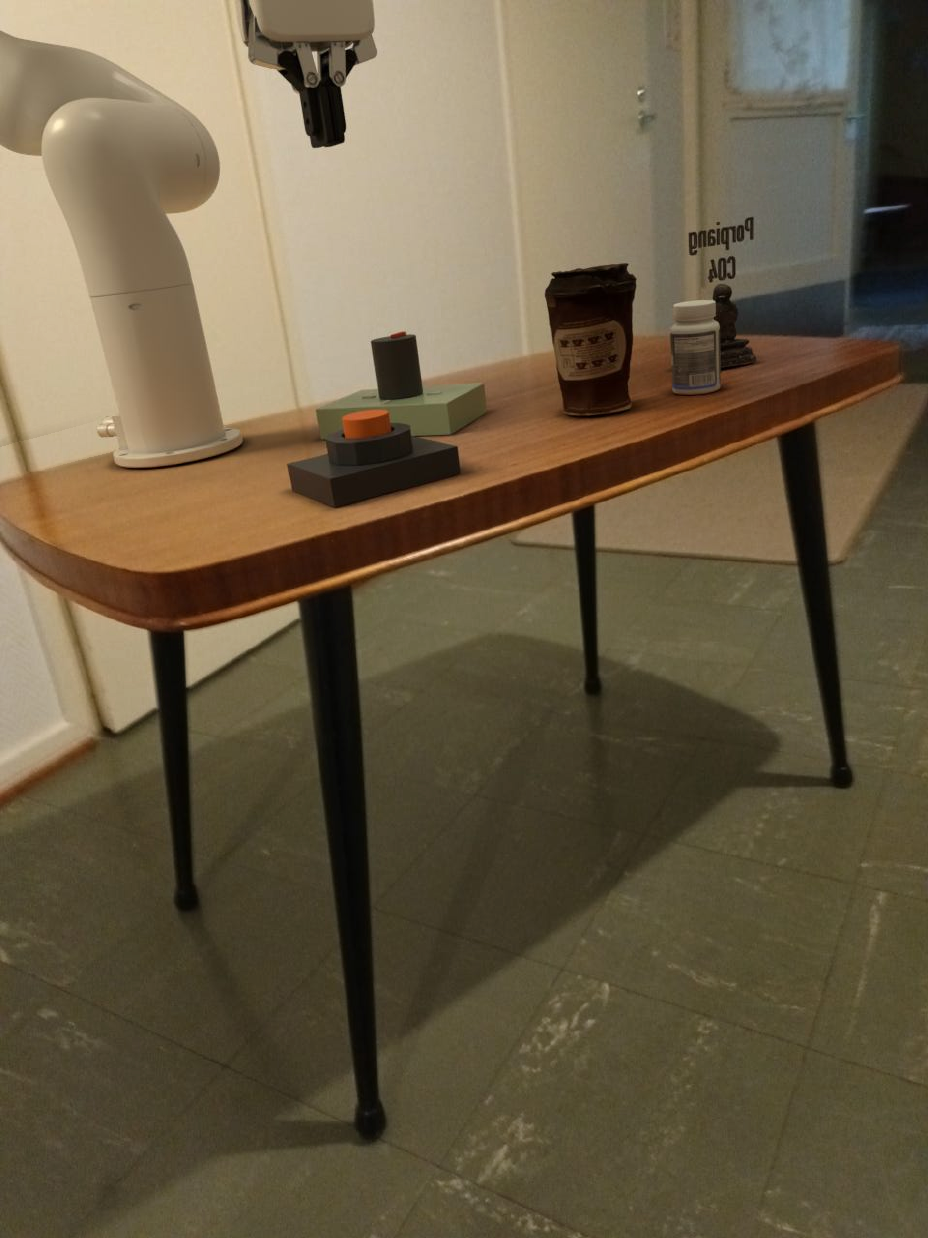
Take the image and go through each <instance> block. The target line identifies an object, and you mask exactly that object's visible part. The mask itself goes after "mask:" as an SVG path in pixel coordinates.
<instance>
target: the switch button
mask: <svg viewBox="0 0 928 1238" xmlns="http://www.w3.org/2000/svg"><path fill="white" fill-rule="evenodd" d="M342 421H343V427H344V433H345V438H347V439H354V438H367V437H374V436H379V435H383V434H387V433H390V432H391V425H390V418H389V412H388V411H387V410H366V411H360V412H355V413H351V414H348V415H345V416H343V417H342Z"/></svg>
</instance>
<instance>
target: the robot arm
mask: <svg viewBox="0 0 928 1238" xmlns="http://www.w3.org/2000/svg"><path fill="white" fill-rule="evenodd" d="M234 5H235V15H236V20H237V25H238V30H239V35H240V38H241V41H242V43H243V44H244V46H245V47H247V57H248V60H249V62H250V63H251V64H253V65H254V66H258V67H263V68H267V69H270V70H275V71H277V72H278V73H279V74H280V76H282V77H283V78H284V79H285V80H286V81H287V82H288V83H289V84H290V86H291V88H292V90H293V92H294V93H295V94H297V95H299V101H300V106H301V114H302V120H303V126H304V131H305V134H306V135H307V137H309V141H310V145H311V148H312V149H320V148H323V147H324V148H332V147H335V146H338V145H342V144H344V143H345V141H346V136H345V133H346V132H347V121H346V113H345V107H344V99H343V93H342V87H343V86H344V85H346V82H347V78H348V76H349V75H350V73H351V72H352V70H353V68H354V67H356V66H359V65H361V64H363V63H366V62H368V61H371V60H373V59H375V58H376V57H377V56H378V49H377V46H376V43H375V40H374V37H373V34H374V31H375V27H376V26H375V24H376V22H375V21H376V20H375V9H374V1H373V0H234ZM351 45H352V46H351ZM349 47H350V48H349ZM314 52H315V53H316V61H317V63H315V58H314V56H313V55H314V54H313V53H314ZM316 64H317V66H316ZM0 146H1V147H3V148H5V149H7V150H9V151H11V152H13V153H16V154H20V155H25V156H33V157H41V158H42V166H43V168H44V169H43V170H44V172H45V175H46V178H47V182H48V184H49V186H50V189H51V192H52V193H53V195H54V198H55V200H56V202H57V205H58V206H59V208H60V211H61V213H62V215H63V217H64V218H63V219H64V220H65V222H66V225H67V227H68V230H69V232H70V236H71V239H72V241H73V244H74V247H75V250H76V253H77V257H78V259H79V260H78V261H79V263H80V267H81V270H82V273H83V277H84V281H85V285H86V290H87V293H88V297H89V300H90V304H91V308H92V312H93V315H94V319H95V324H96V327H97V331H98V336H99V339H100V343H101V347H102V351H103V354H104V359H105V362H106V366H107V370H108V374H109V375H108V376H109V378H110V383H111V386H112V390H113V395H114V398H115V401H116V405H117V409H118V413H116V414H113V415H107V416H105V417H104V418H103V421H102V423H99V424H98V425H97V428H96V433H97V435H98V437H100V438H113V437H116V438H117V443H118V448H116V449H115V450H114V451H113V452H112V456H113V461H114V463H115V465H117V466H119V467H122V468H126V469H127V468H131V469H145V468H158V467H165V466H166V467H167V466H173V465H181V464H186V463H190V462H195V461H199V460H204V459H208V458H212V457H216V456H218V455H221V454H225V453H228V452H230V451H232V450H234V449H236V448H238V447H239V446H240V445H242V443H243V442H244V440H243V436H242V432H241V430H239V429H237V428H233V427H225V424H224V421H223V416H222V411H221V407H220V402H219V397H218V393H217V387H216V384H215V379H214V374H213V369H212V365H211V360H210V355H209V351H208V346H207V342H206V336H205V332H204V328H203V323H202V319H201V318H202V317H201V313H200V309H199V305H198V300H197V295H196V289H195V286H194V283H193V277H192V272H191V268H190V263H189V260H188V258H187V255H186V251H185V248H184V247H183V244H182V242H181V239H180V238H179V235H178V233H177V231H176V230H175V227H174V226H173V224H172V223H171V221H170V219H169V217H168V215H167V214H180V213H186V212H189V211H190V212H191V211H193V210H195V209H197V208H199V207H201V206H202V205H205V203H206V202H207V201H209V199H210V198H211V197H212V195H213V194H214V193H215V191H216V189H217V187H218V184H219V180H220V174H221V162H220V156H219V152H218V149H217V145H216V143H215V141H214V139H213V137H212V134H211V133H210V132H209V130H208V129H207V127H206V125H204V123H203V122H202V121H201V120H200V119H199V118H198V117H197V116H196V115H194V113H192V112H191V111H190V110H189V109H187V108H186V107H184V106H183V105H181V104H180V103H179V102H177V101H176V100H174V99H172V98H170V97H169V96H167V95H166V94H164V93H162V92H161V91H159V90H158V89H156V88H154V87H153V86H152V85H150V84H149V83H147V82H145V81H144V80H142V79H140V78H139V77H137V76H136V75H134V74H132V73H131V72H130V71H128V70H127V69H124V68H123V67H121V66H120V65H118V64H116V63H115V62H113V61H111V60H110V59H107V58H106V57H103V56H101V55H99V54H96V53H95V52H91V51H89V50H85V49H81V48H77V47H72V46H66V45H60V44H54V43H47V42H41V41H36V40H30V39H24V38H19V37H17V36H14V35H11V34H9V33H8V32H4V31H3V30H1V29H0Z"/></svg>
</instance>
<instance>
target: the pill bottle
mask: <svg viewBox="0 0 928 1238" xmlns="http://www.w3.org/2000/svg"><path fill="white" fill-rule="evenodd" d="M715 313H716V302H715V301H714V300H713V299H698V300H686V301H681V302H677V303H674V304H673V307H672V317H673V318H672V319H673V321H675V323H674V324H673V325H672V326H671V327H670V330H669V340H670V365H671V369H670V370H671V391H672V392H673V394H676V395H683V396H684V395H685V396H686V395H687V396H688V395H689V396H694V395H697V396H698V395H705V394H710V393H713V392H716V391H718V390H720V388H721V385H722V371H721V370H722V367H721V361H720V359H721V356H720V325H719V323H718V322H717V321H715V320H714V318H713V317H715V316H716V314H715Z"/></svg>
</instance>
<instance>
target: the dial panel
mask: <svg viewBox="0 0 928 1238" xmlns="http://www.w3.org/2000/svg"><path fill="white" fill-rule="evenodd" d="M485 386H486V385H485V382H470V383H454V384H453V383H452V384H435V385H422V387H423V393H422V394H420V395H417V396H413V397H408V398H402V399H391V400H385V399H380V398H379V393H378V388H369V389H368V388H367V389H360V390H358V391H356V392H353V393H351V394H348V395H346V396H344V397H341V398H339V399H337V400H334V401H332V402H330V403H328V404H325V405H323V406H320V407H318V408H316V409H315V413H316V420H317V426H318V430H319V437H320V440H322V441H323V440H326V438H327V435H329V434H332V433H334V432H336V431H339V430H342V429H344V427H343V421H342V417H343V416H345V415H348V414H351V413H355V412H360V411H366V410H387V411H388V412H389V418H390V423H403V424H407V425H410V430H411V436H415V437H426V436H427V437H428V436H451V435H453V434H454V433H456V432H458V431H460V430H461V429H462V428H465V427H466V426H467V425H469V424H471V423H472V422H474V421H475V420H477V419H479V418H480V417H482V416H483V415H485V414H486V413H488V406H487V405H488V404H487V396H486V395H487V394H486V387H485Z"/></svg>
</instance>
